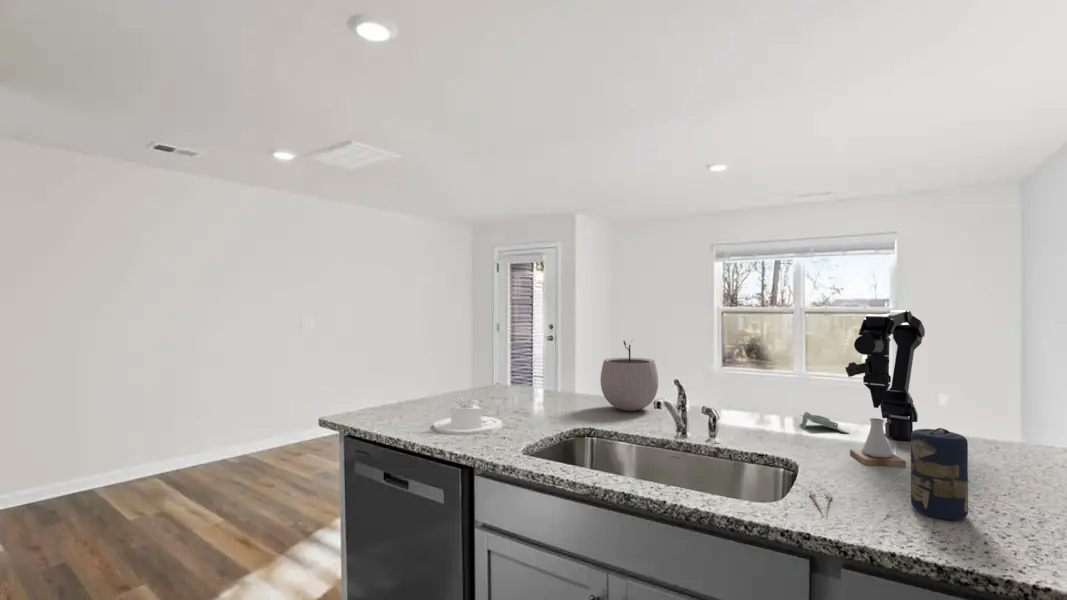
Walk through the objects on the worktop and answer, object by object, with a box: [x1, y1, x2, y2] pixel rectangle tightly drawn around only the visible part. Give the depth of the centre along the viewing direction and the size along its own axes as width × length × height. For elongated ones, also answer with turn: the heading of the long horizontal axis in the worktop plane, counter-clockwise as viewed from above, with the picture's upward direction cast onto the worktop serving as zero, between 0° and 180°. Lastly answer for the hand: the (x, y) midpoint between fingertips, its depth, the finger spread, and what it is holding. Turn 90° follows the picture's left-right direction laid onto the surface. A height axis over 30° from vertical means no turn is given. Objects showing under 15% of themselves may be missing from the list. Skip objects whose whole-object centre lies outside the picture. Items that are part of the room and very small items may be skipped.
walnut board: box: [849, 448, 907, 468], centre depth 146 cm, size 10×10×2 cm
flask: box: [861, 417, 894, 458], centre depth 146 cm, size 7×7×10 cm
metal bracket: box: [799, 411, 851, 435], centre depth 184 cm, size 14×6×15 cm
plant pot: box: [599, 340, 659, 412], centre depth 217 cm, size 24×24×30 cm
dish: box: [433, 396, 503, 435], centre depth 190 cm, size 25×25×11 cm
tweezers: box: [808, 492, 833, 521], centre depth 111 cm, size 18×5×2 cm, turn 155°
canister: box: [910, 427, 969, 520], centre depth 109 cm, size 10×10×18 cm
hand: (876, 406), depth 158 cm, fingers open, 9 cm apart
